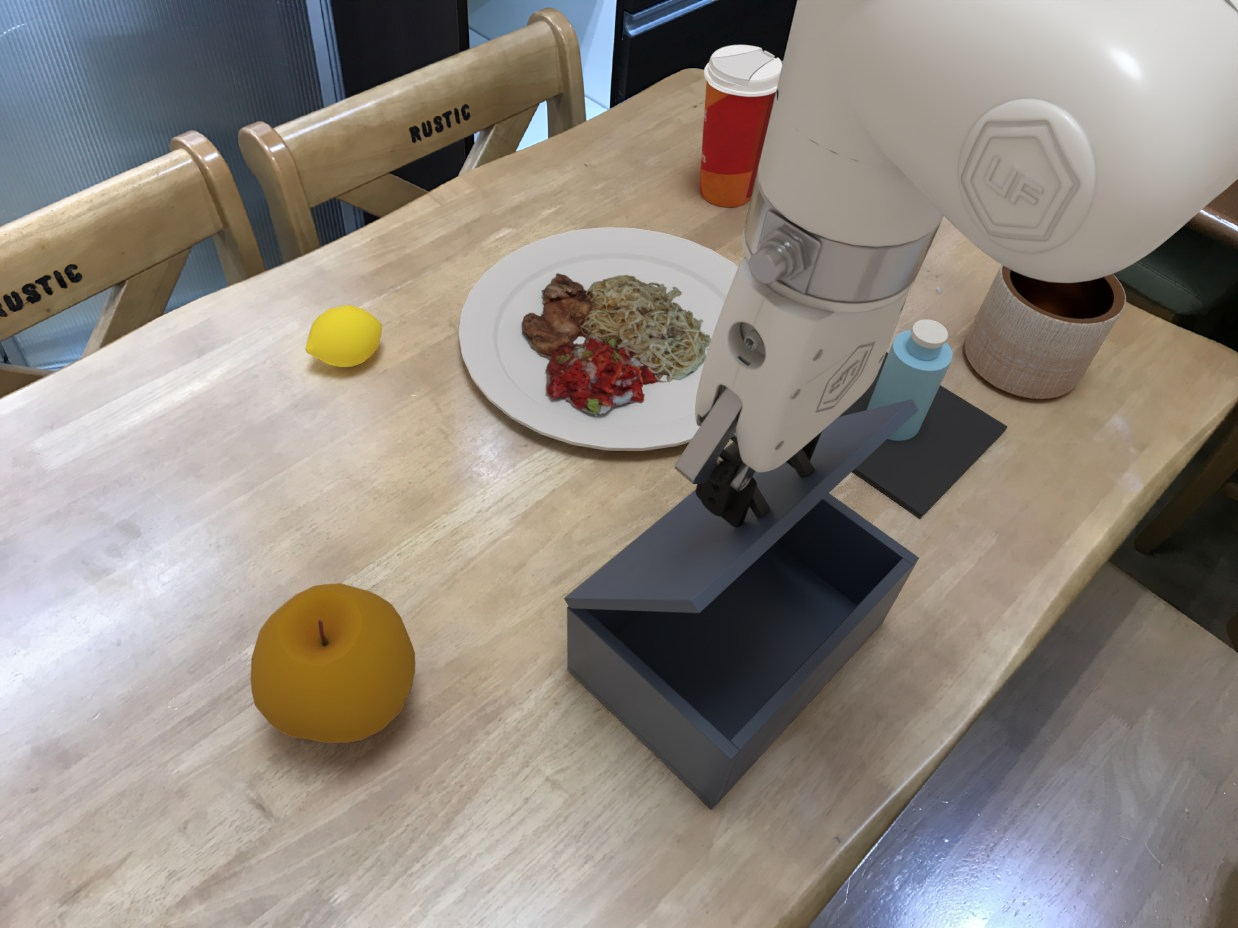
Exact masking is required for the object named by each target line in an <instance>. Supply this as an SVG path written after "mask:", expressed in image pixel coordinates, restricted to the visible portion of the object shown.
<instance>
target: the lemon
mask: <svg viewBox="0 0 1238 928" xmlns="http://www.w3.org/2000/svg"><path fill="white" fill-rule="evenodd" d="M382 330H383V325H382V323H381V321H380V320H379V319H378V318H376V317H375V316H374V315H373V314H372V313H370V312H369V311H367V310H365V309H364V308H361V307H358V306H355V305H352V304H347V305H341V306H337V307H332V308H328V309H326V310H325V311H324V312H322V313H321V314H319V315H318V316H317V317H316V318H315V320H314V321H312V324H311V326H310V329H309V333H308V335H307V336H308V337H307V341H306V344H305V347H304V349H305V351H306V354H308V355H310V356H312V357H313V358H316V359H317V360H320V361H321V362H323V363H325V364H327V365H328V366H332V367H333V366H334V367H339V368H352V367H355V366H359V365H360V364H363V363H365V362H366V361H367V360H368V359H370V358H371V357H372V355H373V354H374V353H376V351H377V350H378V349H379V345H380V342H381V337H382Z"/></svg>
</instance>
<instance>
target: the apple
mask: <svg viewBox="0 0 1238 928" xmlns="http://www.w3.org/2000/svg"><path fill="white" fill-rule="evenodd" d="M250 661H251V664H250V689H251V694H252V699H253V703H254V706H255V708H256V709H257V710H258V711H259V712H260V714H261V715H262V716H263V717H264V719H265V720H266V721H267V722H268V723H269V724H270V725H271V726H272V727H273V728H275V729H276V730H278V731H280V732H281V733H283V734H285V735H286V736H288V737H291V738H296V739H302V740H307V741H313V742H320V743H327V744H329V743H330V744H334V743H335V744H350V743H354V742H358V741H363V740H365V739H367V738H369V737H371V736H373V735H375V734H377V733H379V732H381V731H383V730H384V729H385V728H386V727H387V726H388V725H389V724H391V722H392V721H393V720H394V719H395V718H396V717H397V716H398V715H399V714H400V713H401V712H402V711H403V709H404V706H405V704H406V701H407V698H408V697H409V694H410V691H411V689H412V686H413V682H414V679H415V673H416V651H415V649H414V645H413V643H412V640H411V637H410V635H409V633H408V631H407V628H406V626H405V623H404V620H403V619H402V616H401V615H400V614H399V612H398V611H397V609H396V608H395V607H394V605H393V604H392V603H391V602H389V601H387V600H386V599H384V598H383V597H381V596H380V595H378V594H376V593H374V592H372V591H370V590H367V589H364V588H359V587H356V586H352V585H348V584H345V583H340V582H339V583H323V584H316V585H313V586H311V587H309V588H307V589H304V590H302V591H301V592H299V593H296V594H294V595H293V596H292V597H291V598H289V599H288V600H287V601H285V603H283V604H282V605H281V606H280V607H278V609H276V610H275V611H274V612H272V614H271V615H270V616H269V617H268V618H267V619H266V621H265V622H264V624H263V625H262V626H261V627H260V629H259V631H258V634H257V638H256V642H255V644H254V648H253V652H252V655H251V659H250Z"/></svg>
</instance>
